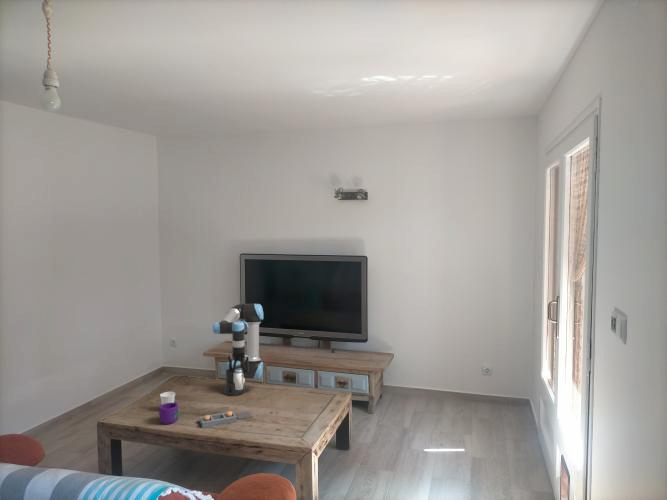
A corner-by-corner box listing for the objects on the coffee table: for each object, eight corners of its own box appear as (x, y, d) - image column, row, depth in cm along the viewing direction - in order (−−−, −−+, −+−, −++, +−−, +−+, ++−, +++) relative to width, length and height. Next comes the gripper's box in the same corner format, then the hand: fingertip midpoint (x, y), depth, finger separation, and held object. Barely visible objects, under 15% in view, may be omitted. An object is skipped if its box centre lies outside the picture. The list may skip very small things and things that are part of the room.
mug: (173, 425, 296) (172, 409, 296) (155, 424, 298) (155, 408, 298) (186, 414, 314) (185, 399, 313) (169, 413, 315) (169, 398, 315)
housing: (232, 415, 311) (232, 411, 311) (236, 421, 301) (236, 417, 301) (199, 421, 302) (199, 416, 302) (202, 427, 292) (202, 423, 292)
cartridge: (236, 387, 312) (236, 368, 311) (244, 387, 311) (244, 368, 310) (234, 390, 306) (233, 370, 306) (242, 390, 306) (241, 370, 305)
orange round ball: (209, 419, 301) (209, 414, 301) (210, 421, 298) (210, 416, 298) (203, 420, 299) (203, 415, 299) (204, 422, 296) (204, 417, 296)
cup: (170, 413, 315) (170, 397, 315) (157, 412, 317) (156, 396, 317) (178, 408, 325) (178, 392, 325) (165, 407, 327) (164, 391, 326)
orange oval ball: (231, 415, 307) (231, 410, 307) (232, 417, 304) (232, 412, 304) (225, 416, 305) (225, 411, 305) (227, 418, 302) (227, 413, 302)
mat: (248, 412, 317) (248, 411, 317) (252, 417, 309) (252, 416, 309) (235, 414, 313) (235, 414, 313) (238, 419, 305) (238, 418, 305)
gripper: (222, 347, 305) (223, 383, 306) (250, 348, 303) (251, 384, 304) (226, 344, 312) (227, 380, 313) (253, 345, 310) (254, 380, 311)
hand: (239, 382), depth 309 cm, fingers closed on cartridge, 5 cm apart
